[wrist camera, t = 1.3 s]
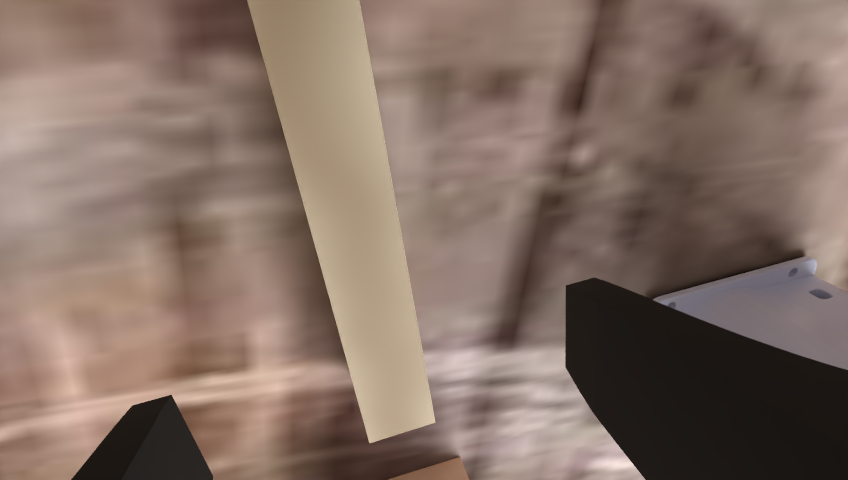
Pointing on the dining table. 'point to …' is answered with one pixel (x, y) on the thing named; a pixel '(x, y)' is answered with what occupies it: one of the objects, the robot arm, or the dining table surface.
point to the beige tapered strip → (348, 200)
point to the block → (438, 472)
